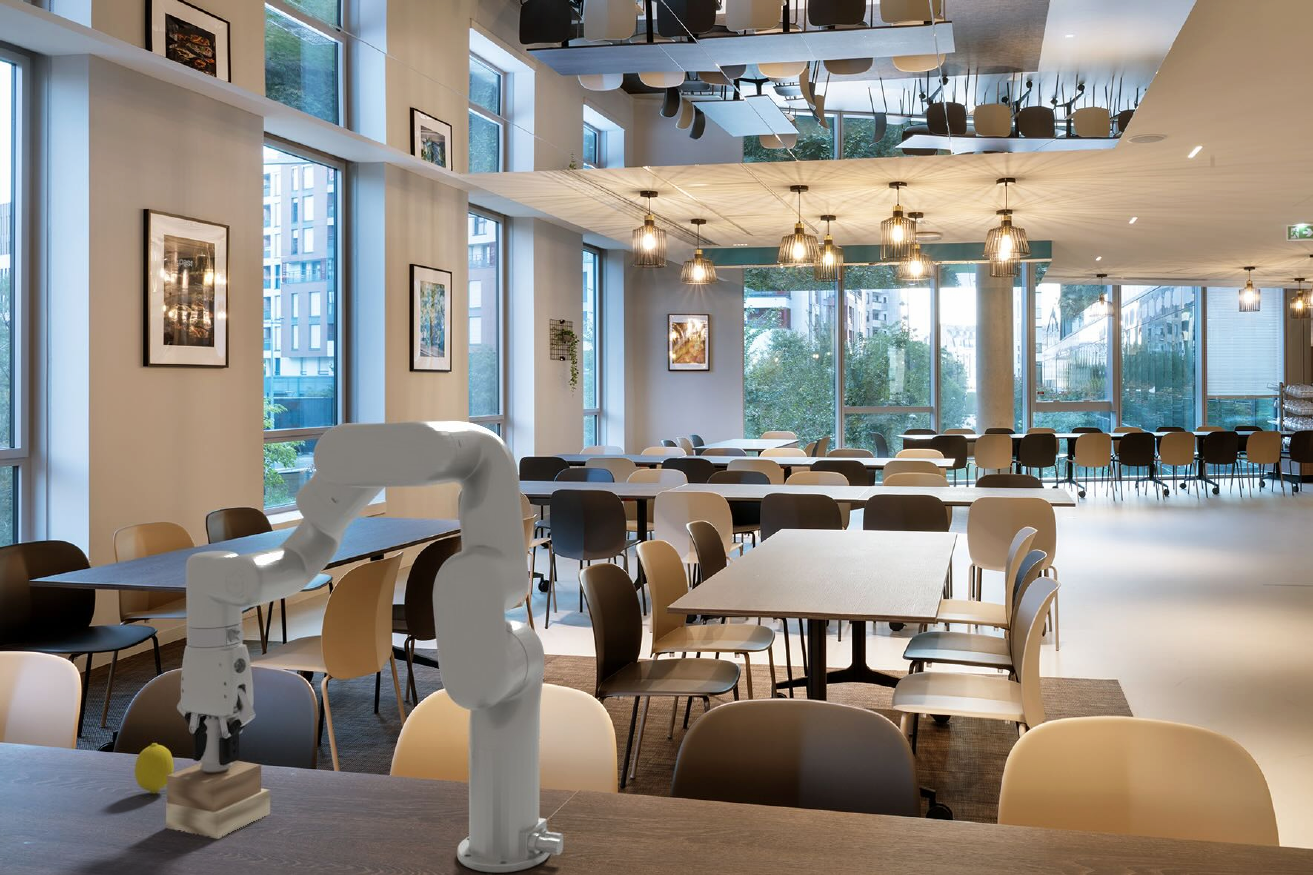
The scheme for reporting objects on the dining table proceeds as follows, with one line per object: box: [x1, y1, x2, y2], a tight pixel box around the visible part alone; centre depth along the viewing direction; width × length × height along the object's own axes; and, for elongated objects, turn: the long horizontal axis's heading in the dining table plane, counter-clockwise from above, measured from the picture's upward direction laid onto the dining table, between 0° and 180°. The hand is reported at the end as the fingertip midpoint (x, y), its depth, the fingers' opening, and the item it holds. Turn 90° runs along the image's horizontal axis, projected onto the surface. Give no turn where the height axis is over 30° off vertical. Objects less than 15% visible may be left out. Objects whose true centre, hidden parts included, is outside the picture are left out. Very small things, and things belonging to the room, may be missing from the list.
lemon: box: [134, 742, 175, 795], centre depth 164 cm, size 6×6×8 cm
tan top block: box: [166, 760, 262, 812], centre depth 152 cm, size 9×9×4 cm
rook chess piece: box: [199, 715, 233, 773], centre depth 152 cm, size 4×4×8 cm
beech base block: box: [165, 787, 271, 840], centre depth 153 cm, size 10×10×4 cm
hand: (216, 759), depth 152 cm, fingers closed on rook chess piece, 4 cm apart
